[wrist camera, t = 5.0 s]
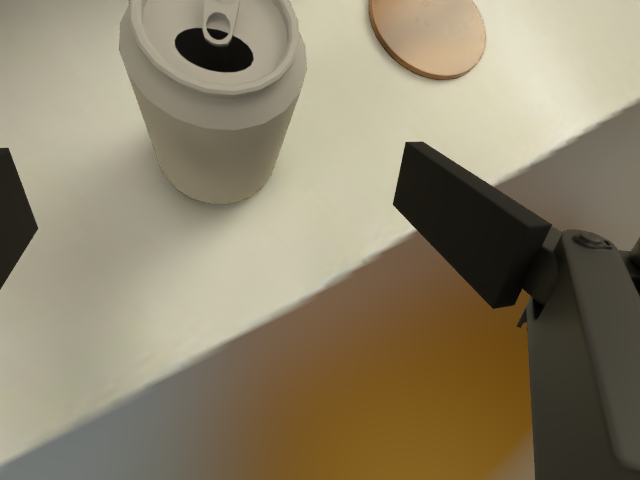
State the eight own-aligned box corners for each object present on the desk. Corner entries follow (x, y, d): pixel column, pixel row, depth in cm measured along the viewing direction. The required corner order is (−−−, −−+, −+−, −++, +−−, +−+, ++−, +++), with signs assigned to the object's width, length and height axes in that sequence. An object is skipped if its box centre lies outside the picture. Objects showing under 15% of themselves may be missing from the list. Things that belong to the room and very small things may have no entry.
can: (147, 198, 23) (83, 78, 12) (168, 93, 25) (129, -96, 14) (267, 216, 25) (308, 125, 14) (279, 117, 27) (323, -35, 16)
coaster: (343, 9, 31) (345, 4, 30) (417, -50, 34) (420, -55, 34) (439, 103, 31) (442, 100, 31) (502, 35, 35) (506, 31, 34)
